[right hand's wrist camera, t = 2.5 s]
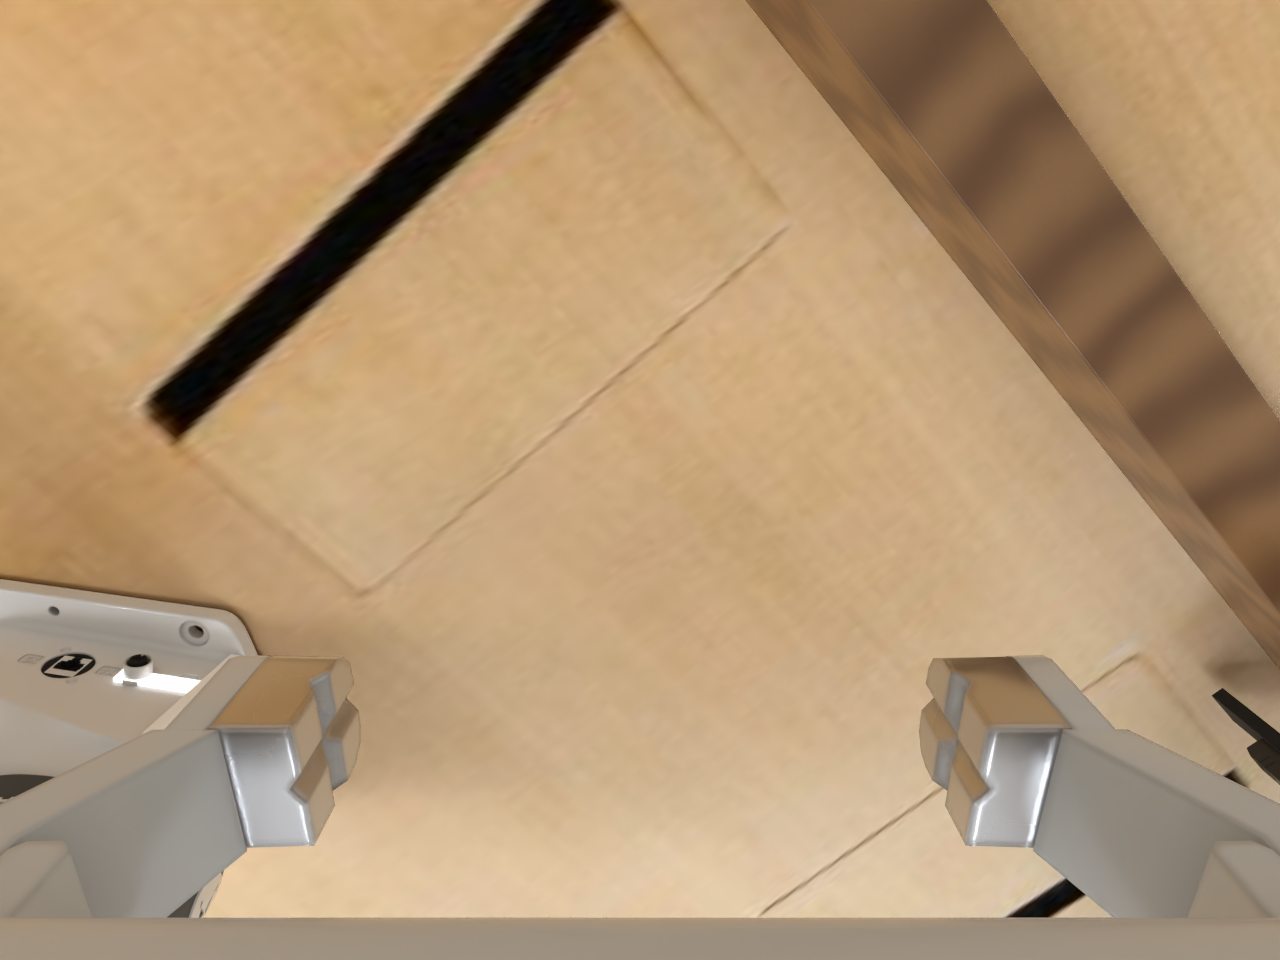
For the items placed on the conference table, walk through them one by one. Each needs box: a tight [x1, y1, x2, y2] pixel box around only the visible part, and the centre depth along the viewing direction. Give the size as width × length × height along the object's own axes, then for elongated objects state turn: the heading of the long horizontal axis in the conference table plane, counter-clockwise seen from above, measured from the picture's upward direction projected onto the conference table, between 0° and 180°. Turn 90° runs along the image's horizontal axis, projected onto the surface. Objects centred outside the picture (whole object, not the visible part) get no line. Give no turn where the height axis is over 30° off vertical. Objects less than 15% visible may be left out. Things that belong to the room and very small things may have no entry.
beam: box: [746, 0, 1280, 669], centre depth 35 cm, size 75×5×6 cm, turn 45°
